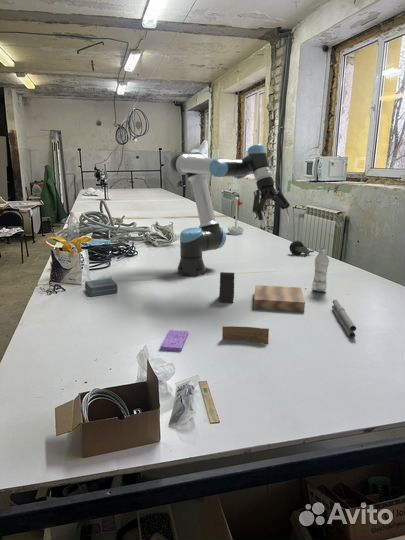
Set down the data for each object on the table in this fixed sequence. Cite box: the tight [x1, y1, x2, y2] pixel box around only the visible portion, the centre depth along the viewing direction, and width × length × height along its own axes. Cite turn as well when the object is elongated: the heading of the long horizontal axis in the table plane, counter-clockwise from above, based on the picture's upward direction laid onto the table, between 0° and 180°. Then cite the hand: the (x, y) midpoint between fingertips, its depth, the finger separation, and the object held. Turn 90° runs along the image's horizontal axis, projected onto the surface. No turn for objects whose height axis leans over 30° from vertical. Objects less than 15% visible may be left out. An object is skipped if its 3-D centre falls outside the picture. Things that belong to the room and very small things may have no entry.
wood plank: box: [221, 325, 270, 345], centre depth 123 cm, size 15×2×5 cm, turn 81°
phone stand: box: [218, 271, 235, 304], centre depth 159 cm, size 9×6×12 cm, turn 172°
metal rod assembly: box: [331, 298, 357, 339], centre depth 137 cm, size 26×3×5 cm, turn 174°
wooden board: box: [253, 284, 306, 313], centre depth 157 cm, size 20×18×4 cm
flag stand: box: [227, 196, 245, 236], centre depth 300 cm, size 13×13×30 cm
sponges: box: [159, 329, 189, 352], centre depth 123 cm, size 7×13×2 cm, turn 172°
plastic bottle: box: [311, 247, 330, 293], centre depth 168 cm, size 6×7×20 cm
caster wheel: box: [289, 240, 315, 257], centre depth 235 cm, size 6×10×15 cm
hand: (276, 225), depth 163 cm, fingers open, 13 cm apart
